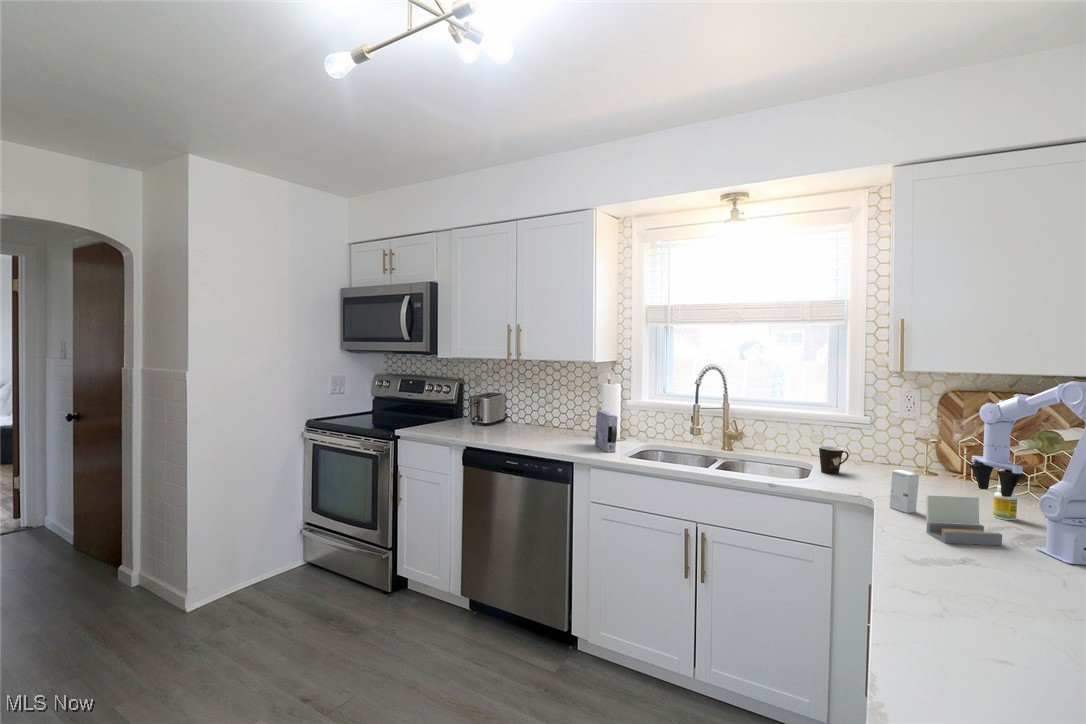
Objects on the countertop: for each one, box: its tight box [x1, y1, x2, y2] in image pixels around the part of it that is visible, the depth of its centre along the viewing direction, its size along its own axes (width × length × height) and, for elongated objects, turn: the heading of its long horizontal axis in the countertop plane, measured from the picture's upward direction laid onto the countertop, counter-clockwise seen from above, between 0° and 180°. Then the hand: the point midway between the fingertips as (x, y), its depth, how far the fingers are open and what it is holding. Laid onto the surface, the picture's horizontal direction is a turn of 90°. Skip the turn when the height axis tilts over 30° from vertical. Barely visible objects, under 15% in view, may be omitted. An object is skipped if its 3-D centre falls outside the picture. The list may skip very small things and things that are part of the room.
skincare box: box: [889, 469, 920, 514], centre depth 166 cm, size 6×4×12 cm
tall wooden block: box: [941, 529, 983, 534], centre depth 141 cm, size 2×10×2 cm, turn 85°
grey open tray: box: [926, 521, 1003, 547], centre depth 141 cm, size 8×14×3 cm, turn 85°
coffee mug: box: [818, 445, 849, 475], centre depth 214 cm, size 12×9×10 cm
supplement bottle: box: [992, 484, 1018, 521], centre depth 160 cm, size 5×5×10 cm
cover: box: [925, 494, 980, 525], centre depth 146 cm, size 7×13×1 cm
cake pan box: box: [594, 409, 618, 453], centre depth 253 cm, size 19×5×18 cm, turn 12°
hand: (994, 492), depth 150 cm, fingers open, 7 cm apart
